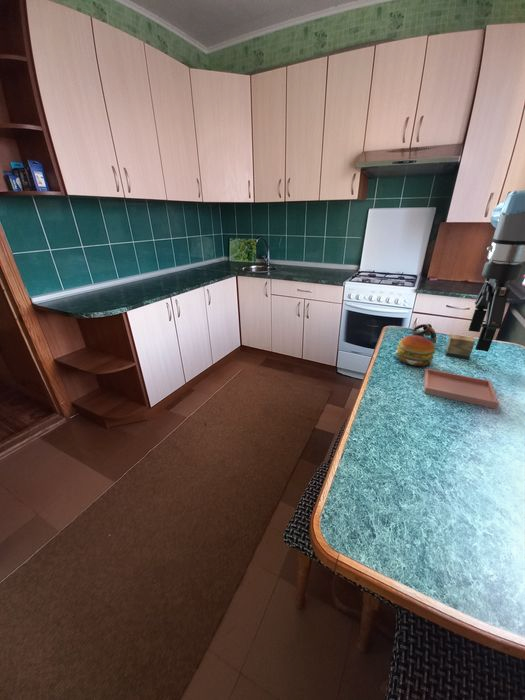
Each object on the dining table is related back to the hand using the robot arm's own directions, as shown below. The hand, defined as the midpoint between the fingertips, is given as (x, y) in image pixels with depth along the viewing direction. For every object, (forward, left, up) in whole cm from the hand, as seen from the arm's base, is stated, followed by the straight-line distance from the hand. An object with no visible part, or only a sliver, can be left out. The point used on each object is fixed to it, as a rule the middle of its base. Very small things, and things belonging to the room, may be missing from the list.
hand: (477, 340), depth 81 cm
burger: (+13, -25, -22) cm, 36 cm away
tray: (-1, -9, -22) cm, 24 cm away
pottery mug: (+9, -49, -22) cm, 55 cm away
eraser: (-3, -37, -22) cm, 43 cm away
